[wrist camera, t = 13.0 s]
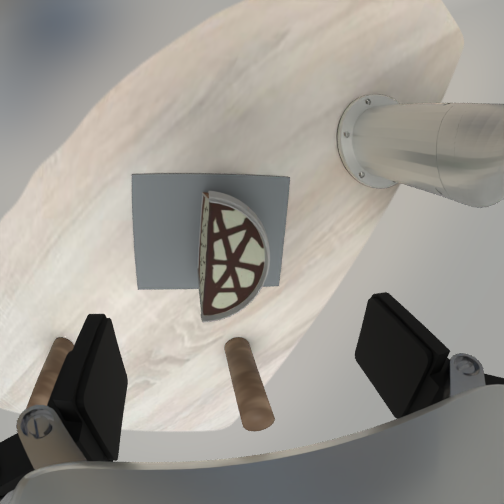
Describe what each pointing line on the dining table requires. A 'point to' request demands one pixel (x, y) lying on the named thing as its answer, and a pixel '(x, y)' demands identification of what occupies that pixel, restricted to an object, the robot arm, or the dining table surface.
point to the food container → (229, 256)
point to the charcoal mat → (197, 222)
